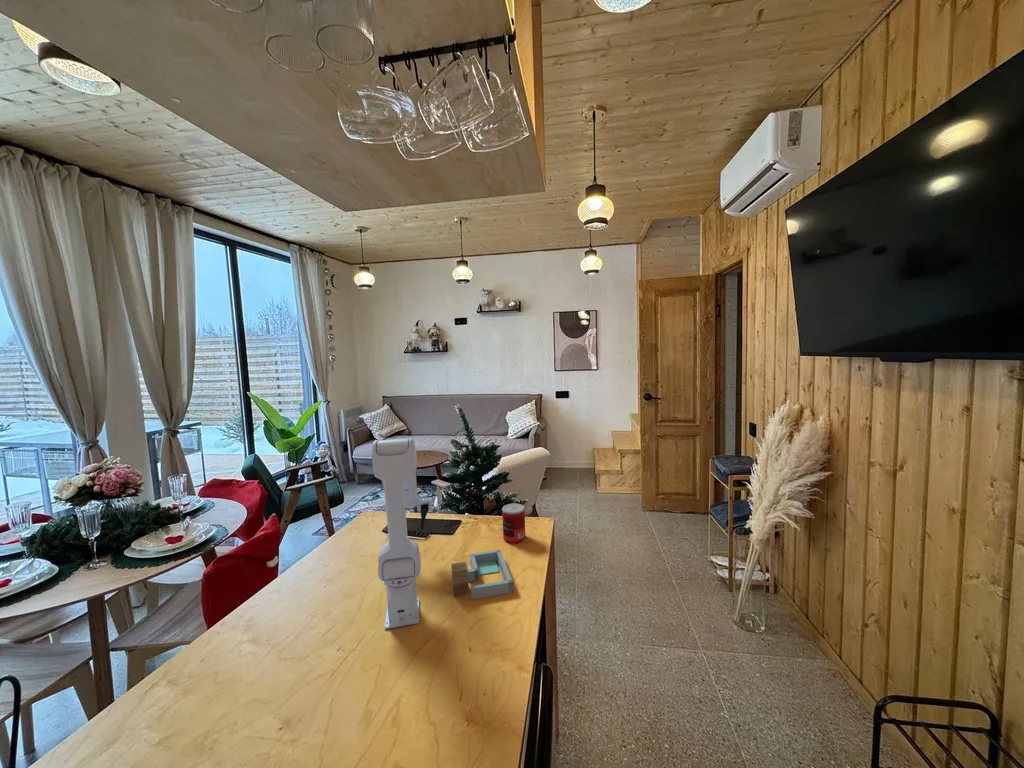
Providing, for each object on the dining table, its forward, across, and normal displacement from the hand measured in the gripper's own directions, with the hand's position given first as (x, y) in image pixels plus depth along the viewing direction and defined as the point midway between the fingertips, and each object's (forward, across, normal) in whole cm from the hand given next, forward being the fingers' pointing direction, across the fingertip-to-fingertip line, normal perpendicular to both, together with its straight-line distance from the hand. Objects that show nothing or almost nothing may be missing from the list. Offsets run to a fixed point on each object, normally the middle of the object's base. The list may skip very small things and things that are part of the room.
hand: (409, 529), depth 125 cm
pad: (+10, -22, +12) cm, 27 cm away
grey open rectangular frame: (+10, -22, +16) cm, 29 cm away
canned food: (+10, -34, -4) cm, 36 cm away
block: (+10, -13, +20) cm, 26 cm away
